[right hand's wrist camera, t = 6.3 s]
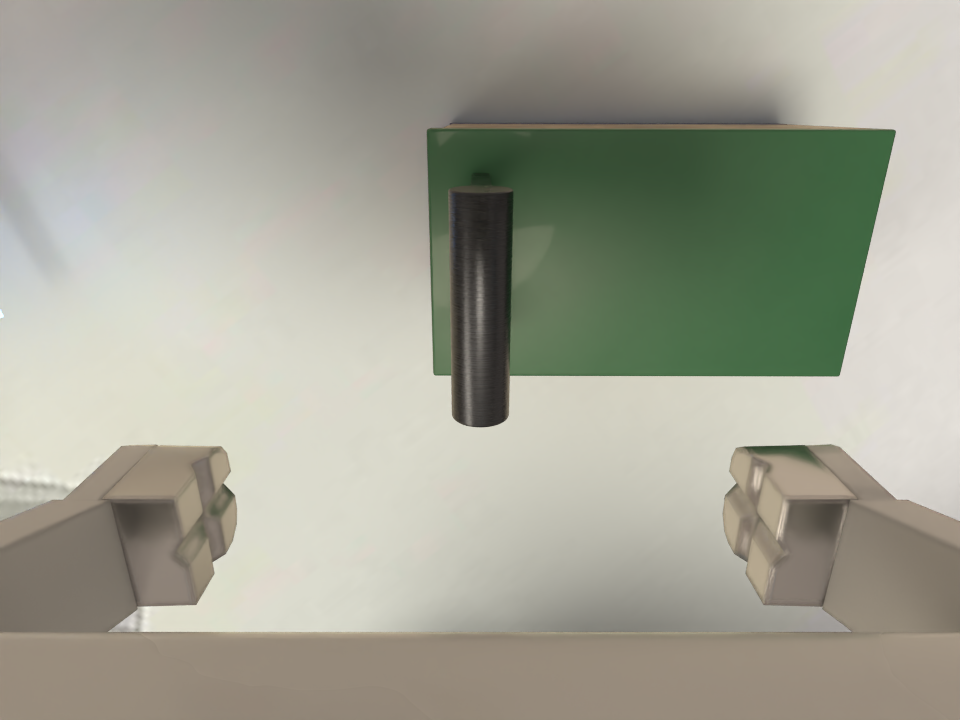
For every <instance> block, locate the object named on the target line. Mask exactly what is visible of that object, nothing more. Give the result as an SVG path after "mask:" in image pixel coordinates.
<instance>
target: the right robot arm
mask: <svg viewBox="0 0 960 720" xmlns="http://www.w3.org/2000/svg"><path fill="white" fill-rule="evenodd" d="M1 317H3V314H2V312H1V311H0V318H1ZM230 472H231V470H230V465H229V460H228V455H227V452H226V451H225V450H224V449H223V448H222V447H221V446H172V445H160V446H158V445H128V446H121V447H120V448H119V449H118V450H117V451H116V452H115V453H114V454H112V455H111V456H110V457H109V458H108V459H107V460H106V461H105V462H104V463H103V464H102V465H100V466H99V467H98V468H97V469H96V470H95V471H94V472H93V473H92V474H91V475H90V476H89V477H87V478H86V479H85V480H84V481H83V482H82V483H81V484H80V485H79V486H78V487H77V488H75V489H74V490H73V491H72V492H71V493H70V494H69V495H68V496H67V497H66V498H65V499H64V500H51V501H49V502H46V503H44V504H41V505H39V506H37V507H34V508H32V509H29V510H27V511H24V512H22V513H19V514H17V515H14V516H12V517H10V518H7V519H5V520H2V521H0V720H960V521H958V520H955V519H953V518H950V517H948V516H945V515H943V514H941V513H938V512H936V511H933V510H931V509H928V508H926V507H923V506H921V505H919V504H916V503H914V502H911V501H909V500H897V499H895V498H894V497H893V496H892V495H891V494H890V493H889V492H888V491H887V490H886V489H885V488H884V487H882V486H881V485H880V484H879V483H878V482H877V481H876V480H875V479H874V478H873V477H872V476H871V475H869V474H868V473H867V472H866V471H865V470H864V469H863V468H862V467H861V466H860V465H859V464H858V463H856V462H855V461H854V460H853V459H852V458H851V457H850V456H849V455H848V454H847V453H846V452H845V451H843V450H842V449H841V448H840V447H838V446H835V445H831V444H830V445H807V446H805V445H793V446H751V447H739V448H736V449H735V451H734V454H733V456H732V459H731V464H730V470H729V472H730V473H731V475H732V476H733V478H734V479H735V481H736V483H737V484H736V485H735V486H734V487H733V488H732V489H731V490H730V491H729V492H728V493H727V494H726V495H725V500H724V508H723V522H724V531H725V534H726V537H727V541H728V543H729V545H730V547H731V549H732V551H733V552H734V554H735V555H737V556H739V557H740V558H742V559H743V560H745V561H747V562H748V563H747V568H746V575H747V577H748V579H749V580H750V582H751V584H752V585H753V587H754V589H755V591H756V592H757V594H758V596H759V597H760V599H761V601H762V603H763V604H764V605H785V606H822V607H823V608H822V609H823V610H824V611H826V612H827V613H828V614H830V615H831V616H832V617H834V618H835V619H836V620H838V621H839V622H840V623H842V624H843V625H844V626H846V627H847V628H848V629H850V630H851V631H852V632H108V631H109V630H111V629H112V628H113V627H115V626H116V625H117V624H119V623H120V622H121V621H123V620H124V619H125V618H127V617H128V616H129V615H131V614H132V613H133V612H135V611H136V610H137V609H138V608H137V606H173V605H196V604H197V603H198V601H199V599H200V598H201V596H202V594H203V592H204V591H205V589H206V587H207V586H208V584H209V582H210V580H211V579H212V577H213V575H214V568H213V563H212V562H213V561H215V560H217V559H218V558H220V557H221V556H223V555H225V554H226V552H227V551H228V549H229V547H230V545H231V543H232V541H233V538H234V533H235V529H236V525H237V506H236V499H235V495H234V494H233V493H232V492H231V491H230V490H229V489H228V488H227V487H226V486H225V485H224V484H223V483H224V481H225V479H226V478H227V476H228V475H229V473H230Z"/></svg>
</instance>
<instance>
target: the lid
mask: <svg viewBox="0 0 960 720" xmlns="http://www.w3.org/2000/svg"><path fill="white" fill-rule="evenodd" d="M895 133H896V131H895V130H892V129H737V128H430V129H428V130H427V158H428V194H429V230H430V266H431V302H432V338H433V373H434V375H451V384H452V416H453V418H454V419H455V420H456V421H457V422H459V423H461V424H463V425H466V426H471V427H490V426H495V425H498V424H500V423H502V422H504V421H505V420H506V419H507V418H508V416H509V383H510V376H839V375H840V371H841V367H842V363H843V358H844V354H845V350H846V345H847V341H848V337H849V332H850V328H851V324H852V319H853V315H854V311H855V307H856V302H857V298H858V294H859V289H860V285H861V281H862V276H863V272H864V268H865V263H866V259H867V255H868V250H869V246H870V242H871V237H872V233H873V229H874V224H875V220H876V216H877V211H878V207H879V203H880V198H881V194H882V190H883V185H884V181H885V177H886V172H887V168H888V164H889V159H890V155H891V151H892V146H893V142H894V138H895Z"/></svg>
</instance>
